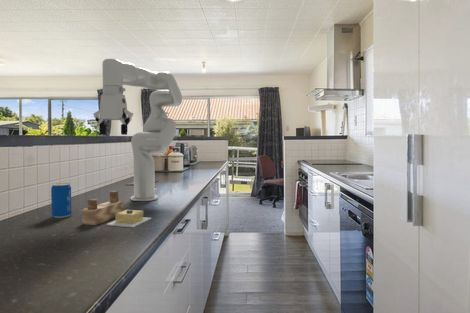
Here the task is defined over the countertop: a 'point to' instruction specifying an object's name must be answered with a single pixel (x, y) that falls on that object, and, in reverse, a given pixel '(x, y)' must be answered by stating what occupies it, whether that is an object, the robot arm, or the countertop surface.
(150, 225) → the countertop surface
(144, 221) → the mat
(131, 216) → the lever cap
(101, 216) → the plane body
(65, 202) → the beverage can
